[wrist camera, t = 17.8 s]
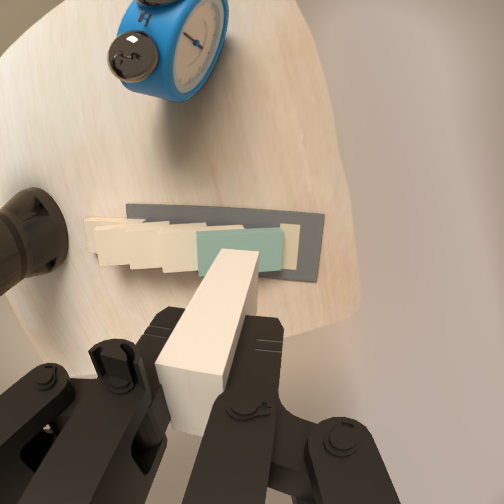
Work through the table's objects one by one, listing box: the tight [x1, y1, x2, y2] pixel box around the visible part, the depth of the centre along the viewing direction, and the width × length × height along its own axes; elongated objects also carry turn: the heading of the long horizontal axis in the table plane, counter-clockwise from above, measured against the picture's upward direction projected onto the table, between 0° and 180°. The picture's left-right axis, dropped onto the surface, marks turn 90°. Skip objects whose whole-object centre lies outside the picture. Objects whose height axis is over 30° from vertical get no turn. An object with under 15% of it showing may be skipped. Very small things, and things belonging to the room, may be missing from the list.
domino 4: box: [159, 225, 245, 273], centre depth 36 cm, size 2×5×10 cm
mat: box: [126, 204, 324, 282], centre depth 38 cm, size 26×9×1 cm, turn 88°
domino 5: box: [196, 227, 284, 277], centre depth 35 cm, size 2×5×10 cm
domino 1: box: [83, 217, 146, 253], centre depth 39 cm, size 2×5×10 cm
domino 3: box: [125, 222, 207, 269], centre depth 36 cm, size 2×5×10 cm
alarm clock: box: [107, 0, 229, 102], centre depth 23 cm, size 13×6×15 cm, turn 160°
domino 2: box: [94, 221, 170, 266], centre depth 37 cm, size 2×5×10 cm
